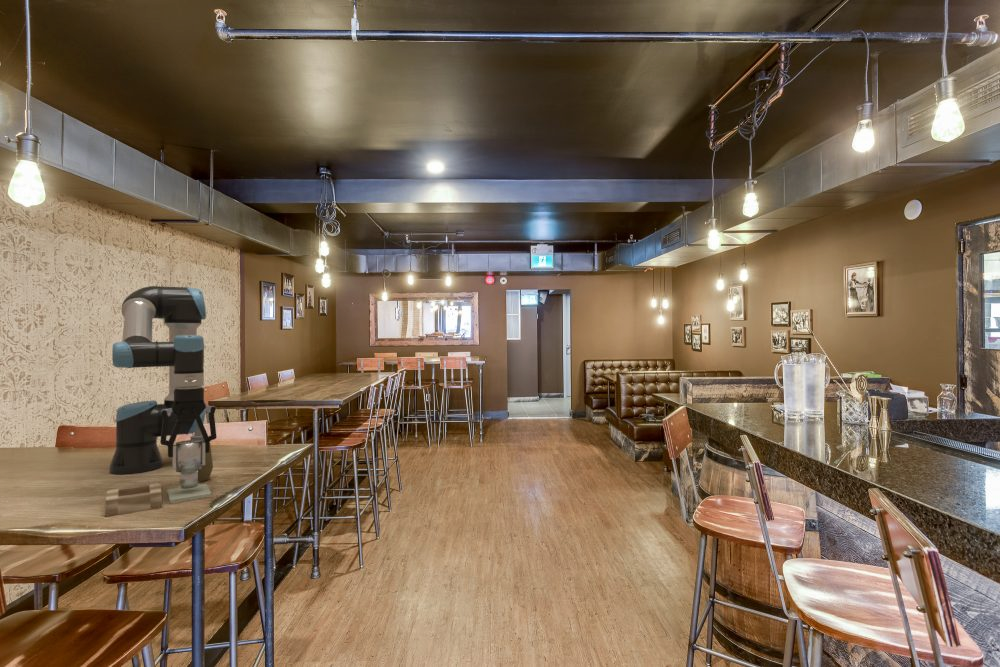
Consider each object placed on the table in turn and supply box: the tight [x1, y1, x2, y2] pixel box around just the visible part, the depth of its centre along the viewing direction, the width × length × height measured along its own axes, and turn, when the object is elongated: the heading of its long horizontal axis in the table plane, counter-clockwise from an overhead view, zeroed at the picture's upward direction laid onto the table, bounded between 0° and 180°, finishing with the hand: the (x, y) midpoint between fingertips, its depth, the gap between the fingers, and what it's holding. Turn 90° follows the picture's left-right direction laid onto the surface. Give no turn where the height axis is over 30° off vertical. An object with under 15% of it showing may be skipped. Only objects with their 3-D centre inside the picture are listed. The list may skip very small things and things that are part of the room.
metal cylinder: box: [175, 439, 202, 489], centre depth 147 cm, size 6×6×13 cm
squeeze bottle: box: [189, 425, 214, 482], centre depth 162 cm, size 8×8×18 cm
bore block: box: [105, 481, 163, 517], centre depth 138 cm, size 12×12×4 cm
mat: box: [166, 483, 212, 504], centre depth 147 cm, size 12×10×1 cm
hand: (189, 466), depth 147 cm, fingers closed on metal cylinder, 6 cm apart
